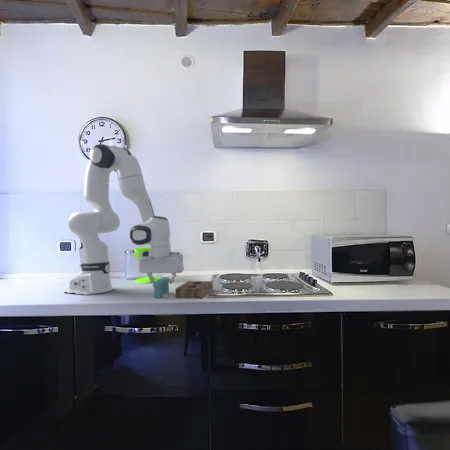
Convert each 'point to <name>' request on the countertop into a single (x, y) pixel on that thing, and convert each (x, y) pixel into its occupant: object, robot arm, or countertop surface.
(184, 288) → the wooden board with holes
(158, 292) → the teal long block
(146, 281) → the wineglass
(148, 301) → the countertop surface
